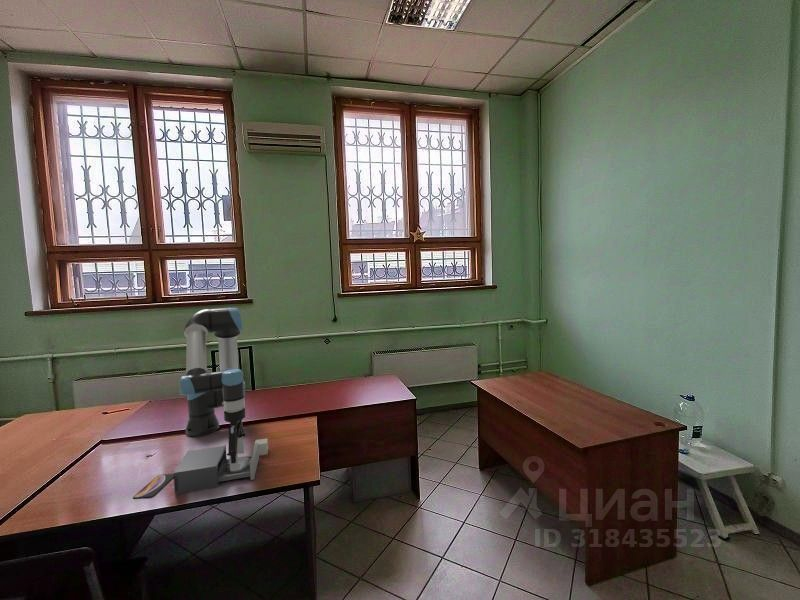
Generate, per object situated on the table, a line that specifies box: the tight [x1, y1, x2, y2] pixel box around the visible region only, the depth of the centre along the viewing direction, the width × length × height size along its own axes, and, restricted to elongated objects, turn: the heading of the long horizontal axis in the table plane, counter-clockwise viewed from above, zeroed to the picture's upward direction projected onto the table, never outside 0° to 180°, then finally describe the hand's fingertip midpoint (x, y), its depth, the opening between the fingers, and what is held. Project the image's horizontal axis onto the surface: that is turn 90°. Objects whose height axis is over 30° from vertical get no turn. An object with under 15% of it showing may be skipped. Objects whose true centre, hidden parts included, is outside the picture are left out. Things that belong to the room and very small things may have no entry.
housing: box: [172, 444, 228, 495], centre depth 136 cm, size 17×14×8 cm
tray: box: [218, 443, 260, 483], centre depth 139 cm, size 17×14×7 cm
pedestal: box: [253, 438, 269, 457], centre depth 155 cm, size 5×5×5 cm
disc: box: [225, 456, 250, 473], centre depth 140 cm, size 9×9×2 cm
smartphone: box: [132, 473, 174, 500], centre depth 132 cm, size 8×1×15 cm
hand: (237, 461), depth 139 cm, fingers open, 13 cm apart
